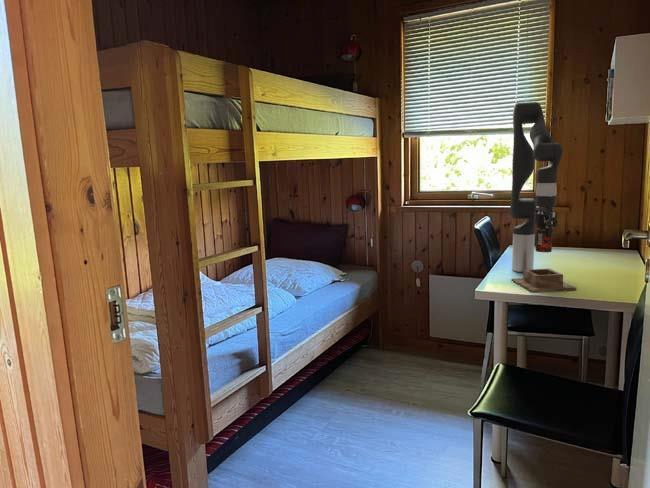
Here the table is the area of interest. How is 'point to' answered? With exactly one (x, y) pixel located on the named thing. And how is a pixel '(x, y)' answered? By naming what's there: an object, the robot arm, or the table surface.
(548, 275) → the well holder
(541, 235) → the deodorant
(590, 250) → the table surface
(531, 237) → the robot arm
